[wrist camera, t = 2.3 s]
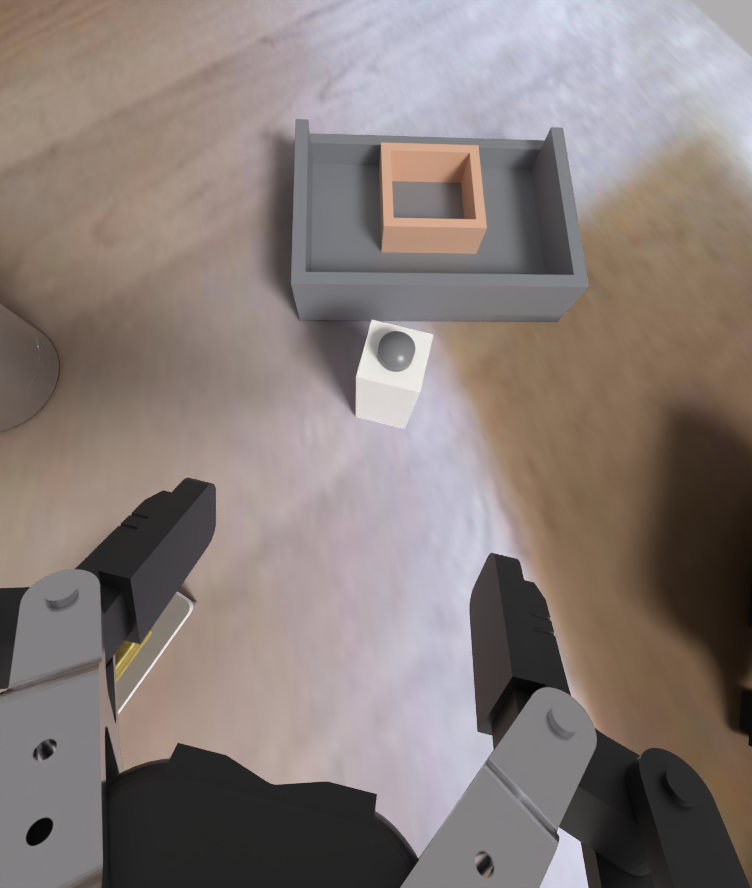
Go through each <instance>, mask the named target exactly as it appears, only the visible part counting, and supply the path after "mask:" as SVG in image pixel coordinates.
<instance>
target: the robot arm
mask: <svg viewBox="0 0 752 888" xmlns="http://www.w3.org/2000/svg"><path fill="white" fill-rule="evenodd" d="M58 373H59V362H58V357H57V353H56V351H55V349H54V347H53V345H52V343H51V342H50V341H49V340H48V338H47V337H46V336H45V335H44V334H42V333H41V332H39V331H38V330H37V329H35V328H34V327H32V326H31V325H30V324H28V323H27V322H25V321H24V320H22V319H21V318H20V317H18V316H17V315H15V314H14V313H12V312H11V311H10V310H8V309H7V308H5V307H4V306H3V305H1V304H0V431H5V430H7V429H10V428H13V427H15V426H18V425H19V424H21V423H23V422H25V421H26V420H28V419H30V418H31V417H32V416H33V415H34V414H36V413H37V412H38V411H39V410H40V409H41V408H42V407H43V406H44V404H45V403H46V402H47V401H48V399H49V398H50V396H51V394H52V392H53V390H54V388H55V386H56V382H57V379H58ZM215 526H216V488H215V485H214V484H212V483H208V482H204V481H200V480H196V479H192V478H186V479H184V480H183V481H182V482H181V483H180V484H179V485H178V486H177V487H176V488H175V489H174V491H173V492H172V493H171V492H167V491H161V492H159V493H157V494H156V495H154V496H152V497H150V498H148V499H146V500H144V501H143V502H142V503H141V504H140V505H139V506H138V507H137V508H136V509H135V510H134V511H133V512H132V515H131V516H130V515H129V516H128V517H127V518H126V519H125V520H124V521H123V522H122V523H121V526H120V527H119V526H118V527H117V528H116V529H115V530H114V531H113V532H112V533H111V534H110V535H109V536H108V537H107V538H106V539H105V540H104V541H103V542H102V543H101V544H100V545H99V546H98V547H97V548H96V549H95V550H94V551H93V552H92V553H91V554H90V555H89V556H88V557H87V558H86V559H85V560H84V561H83V562H82V563H81V564H80V565H79V566H78V567H76V568H75V569H73V570H64V571H60V572H56V573H53V574H51V575H48V576H46V577H44V578H42V579H41V580H39V581H37V582H36V583H35V584H34V585H32V586H31V587H25V588H0V689H6V688H8V689H7V691H4V692H1V693H0V888H539V887H540V885H541V883H542V880H543V878H544V876H545V874H546V872H547V869H548V867H549V865H550V863H551V861H552V858H553V856H554V854H555V851H556V849H557V846H558V843H559V836H558V834H557V830H558V827H560V828H561V829H563V830H564V831H566V832H567V833H569V834H570V835H572V836H573V837H575V838H576V839H578V840H579V841H581V846H582V852H583V858H584V863H585V869H586V875H587V881H588V886H589V888H750V886H749V883H748V881H747V878H746V876H745V874H744V871H743V869H742V866H741V864H740V861H739V859H738V857H737V854H736V852H735V849H734V847H733V844H732V842H731V840H730V837H729V835H728V832H727V830H726V827H725V825H724V823H723V820H722V818H721V815H720V813H719V811H718V808H717V806H716V803H715V801H714V799H713V797H712V794H711V793H710V791H709V789H708V788H707V786H706V784H705V783H704V782H703V780H702V779H701V778H700V776H699V775H698V774H697V773H696V772H695V771H694V770H693V769H692V768H691V767H690V766H689V765H688V764H687V763H686V762H685V761H683V760H682V759H681V758H679V757H678V756H676V755H674V754H673V753H671V752H669V751H666V750H664V749H659V748H651V749H648V750H646V751H644V752H643V753H642V754H641V755H638V754H636V753H634V752H633V751H631V750H629V749H628V748H626V747H624V746H622V745H621V744H619V743H617V742H615V741H614V740H612V739H610V738H609V737H607V736H605V735H604V734H602V733H601V732H599V731H598V730H597V729H596V728H595V727H594V725H593V722H592V720H591V718H590V717H589V715H588V713H587V712H586V711H585V709H584V708H583V707H582V706H581V705H580V703H578V702H577V701H576V700H575V699H574V698H573V697H571V694H570V691H569V687H568V684H567V680H566V676H565V672H564V668H563V664H562V661H561V657H560V653H559V649H558V645H557V641H556V638H555V636H554V630H553V626H552V622H551V621H550V615H549V611H548V607H547V603H546V600H545V598H544V597H543V595H542V594H541V592H540V591H539V589H538V588H537V586H536V585H535V583H534V582H529V581H525V580H524V578H523V574H522V569H521V565H520V562H519V560H518V559H515V558H511V557H507V556H503V555H498V554H494V553H491V554H489V556H488V558H487V560H486V562H485V564H484V566H483V568H482V571H481V573H480V575H479V577H478V579H477V581H476V584H475V586H474V588H473V591H472V594H471V599H470V625H471V640H472V655H473V670H474V685H475V700H476V715H477V730H478V732H481V733H485V734H489V735H492V736H493V747H494V750H493V752H492V753H491V755H490V756H489V758H488V759H487V760H486V762H485V763H484V765H483V766H482V768H481V769H480V771H479V772H478V773H477V775H476V776H475V778H474V779H473V781H472V782H471V784H470V785H469V787H468V788H467V789H466V791H465V792H464V794H463V795H462V797H461V798H460V800H459V801H458V802H457V804H456V805H455V807H454V808H453V810H452V811H451V813H450V814H449V815H448V817H447V818H446V820H445V821H444V823H443V824H442V826H441V827H440V828H439V830H438V831H437V833H436V834H435V836H434V837H433V838H432V840H431V841H430V843H429V844H428V846H427V847H426V849H425V850H424V851H423V853H422V854H421V856H420V857H419V859H418V857H417V856H416V854H415V852H414V850H413V849H412V847H411V846H410V845H409V843H408V842H407V840H406V839H405V838H404V836H403V835H402V834H401V833H400V832H399V831H398V830H397V828H396V827H395V826H394V825H393V824H392V823H390V822H389V821H388V820H387V819H386V818H385V817H383V816H382V815H381V814H379V813H378V812H376V811H375V805H376V796H377V794H374V793H370V792H366V791H362V790H358V789H354V788H350V787H346V786H343V785H339V784H335V783H331V782H313V783H298V784H282V785H274V784H270V783H268V782H266V781H265V780H263V779H262V778H260V777H259V776H257V775H256V774H254V773H252V772H251V771H249V770H248V769H246V768H245V767H243V766H242V765H240V764H239V763H237V762H236V761H234V760H233V759H231V758H229V757H228V756H226V755H223V754H219V753H215V752H211V751H207V750H203V749H199V748H195V747H192V746H188V745H184V744H180V743H178V744H177V746H176V748H175V750H174V752H173V754H172V756H171V758H170V759H161V760H156V761H150V762H147V763H144V764H141V765H138V766H135V767H132V768H130V769H128V770H126V771H124V770H123V759H122V750H121V743H120V734H119V719H118V701H117V682H116V664H115V653H116V652H117V650H118V649H119V647H120V646H121V645H122V643H123V642H124V641H129V642H133V643H137V644H141V643H142V641H143V640H144V638H145V637H146V636H147V634H148V633H149V631H150V630H151V628H152V627H153V625H154V624H155V622H156V621H157V620H158V618H159V617H160V615H161V614H162V612H163V611H164V609H165V608H166V606H167V605H168V604H169V602H170V601H171V599H172V598H173V596H174V595H175V593H176V592H177V590H178V589H179V588H180V586H181V585H182V583H183V582H184V580H185V579H186V577H187V576H188V574H189V573H190V572H191V570H192V569H193V567H194V566H195V564H196V563H197V561H198V560H199V558H200V557H201V556H202V554H203V553H204V551H205V550H206V548H207V547H208V545H209V544H210V542H211V540H212V537H213V534H214V531H215Z"/></svg>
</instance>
